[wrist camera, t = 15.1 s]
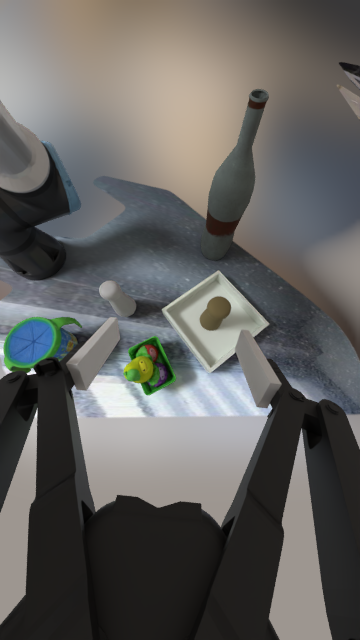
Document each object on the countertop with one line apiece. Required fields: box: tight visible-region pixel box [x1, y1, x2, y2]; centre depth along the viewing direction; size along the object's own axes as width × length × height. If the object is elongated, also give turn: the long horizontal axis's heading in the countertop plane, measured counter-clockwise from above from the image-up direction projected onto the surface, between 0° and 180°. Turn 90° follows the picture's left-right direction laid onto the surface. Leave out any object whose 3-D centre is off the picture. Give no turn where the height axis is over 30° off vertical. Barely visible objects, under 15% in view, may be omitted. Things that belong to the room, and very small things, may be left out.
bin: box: [162, 270, 269, 373], centre depth 41 cm, size 20×20×4 cm
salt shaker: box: [99, 280, 136, 317], centre depth 38 cm, size 6×6×13 cm
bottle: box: [201, 89, 269, 260], centre depth 36 cm, size 9×9×30 cm
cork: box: [200, 296, 231, 331], centre depth 37 cm, size 6×6×11 cm
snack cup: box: [4, 317, 82, 373], centre depth 36 cm, size 16×10×10 cm
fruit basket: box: [124, 336, 176, 395], centre depth 34 cm, size 11×9×11 cm
